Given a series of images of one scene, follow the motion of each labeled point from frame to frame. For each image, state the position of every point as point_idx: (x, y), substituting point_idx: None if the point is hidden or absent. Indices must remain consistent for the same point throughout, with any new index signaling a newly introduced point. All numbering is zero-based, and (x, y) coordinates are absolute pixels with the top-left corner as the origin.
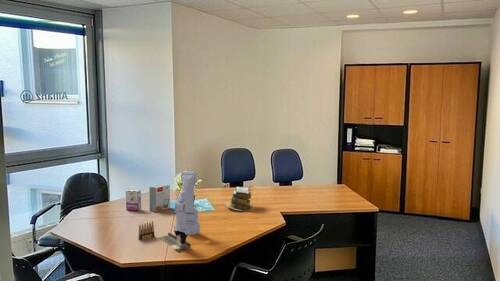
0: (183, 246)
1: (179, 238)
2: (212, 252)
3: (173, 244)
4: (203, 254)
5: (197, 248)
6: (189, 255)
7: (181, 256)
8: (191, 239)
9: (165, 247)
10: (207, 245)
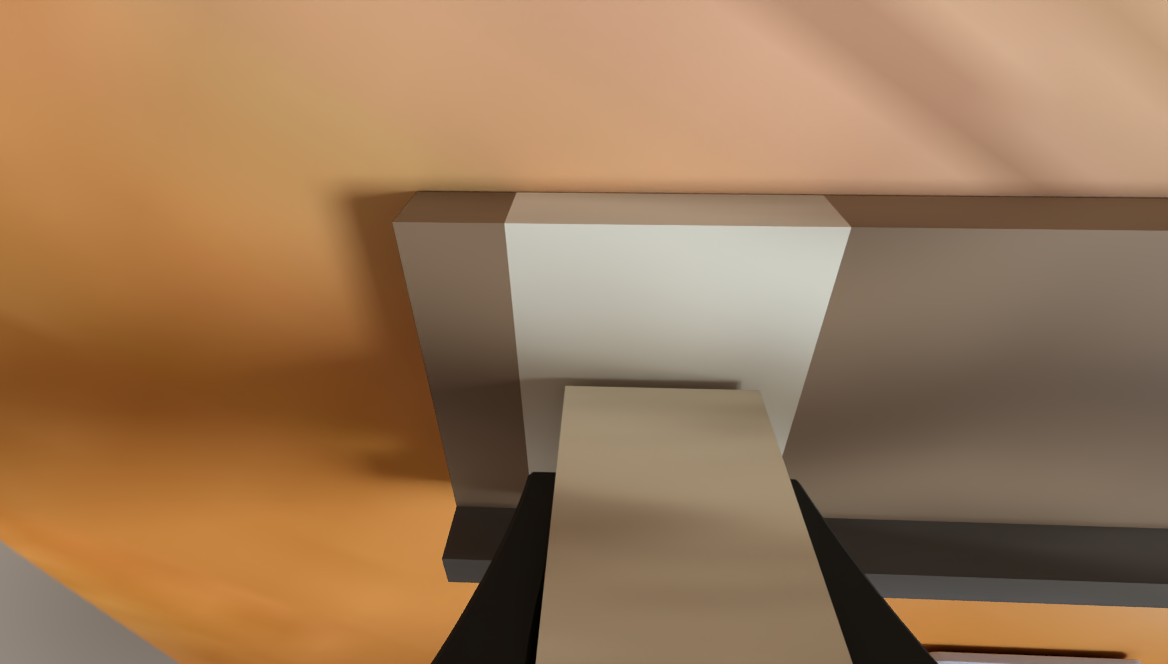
0: (538, 438)
1: (598, 625)
2: (143, 591)
3: (877, 337)
4: (81, 492)
5: (411, 547)
6: (77, 301)
7: (36, 102)
8: None
9: (1054, 80)
10: None
